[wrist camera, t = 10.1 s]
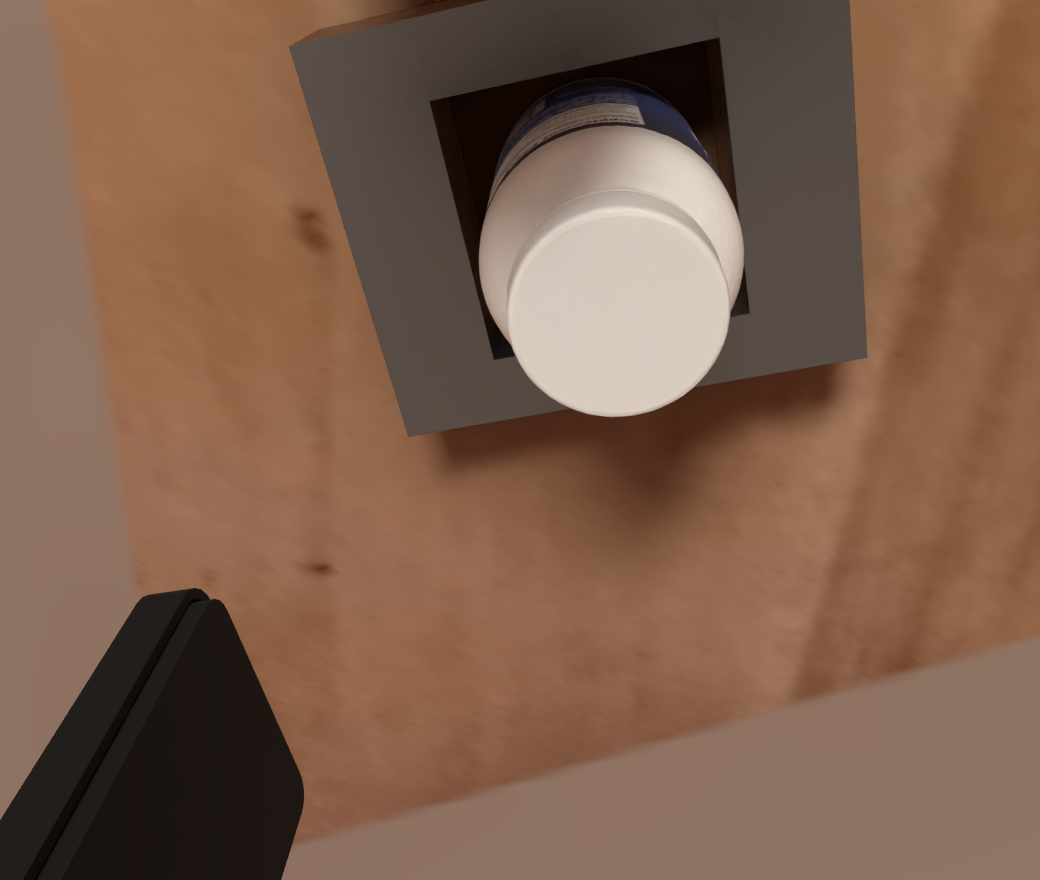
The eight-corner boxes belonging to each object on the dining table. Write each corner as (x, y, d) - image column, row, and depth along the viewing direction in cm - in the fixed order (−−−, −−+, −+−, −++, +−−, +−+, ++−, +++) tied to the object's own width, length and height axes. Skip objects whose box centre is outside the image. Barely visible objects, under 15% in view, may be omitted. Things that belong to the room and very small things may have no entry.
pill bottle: (721, 247, 27) (797, 415, 18) (531, 300, 28) (517, 483, 19) (677, 43, 24) (740, 126, 16) (470, 108, 25) (423, 219, 17)
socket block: (812, -86, 23) (845, -83, 20) (838, 313, 27) (866, 357, 25) (318, 29, 24) (289, 46, 22) (422, 387, 29) (408, 436, 26)
